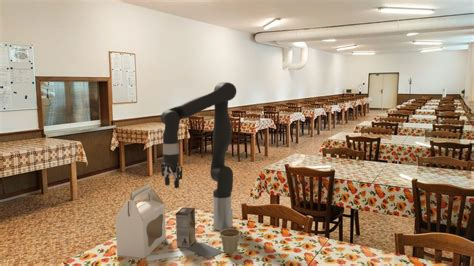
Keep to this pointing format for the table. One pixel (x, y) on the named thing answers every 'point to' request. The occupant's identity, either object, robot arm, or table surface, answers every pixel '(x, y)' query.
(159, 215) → the gable box
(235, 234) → the flower pot
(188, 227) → the coffee box
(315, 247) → the table surface
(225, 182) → the robot arm
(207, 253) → the grey flat slab
